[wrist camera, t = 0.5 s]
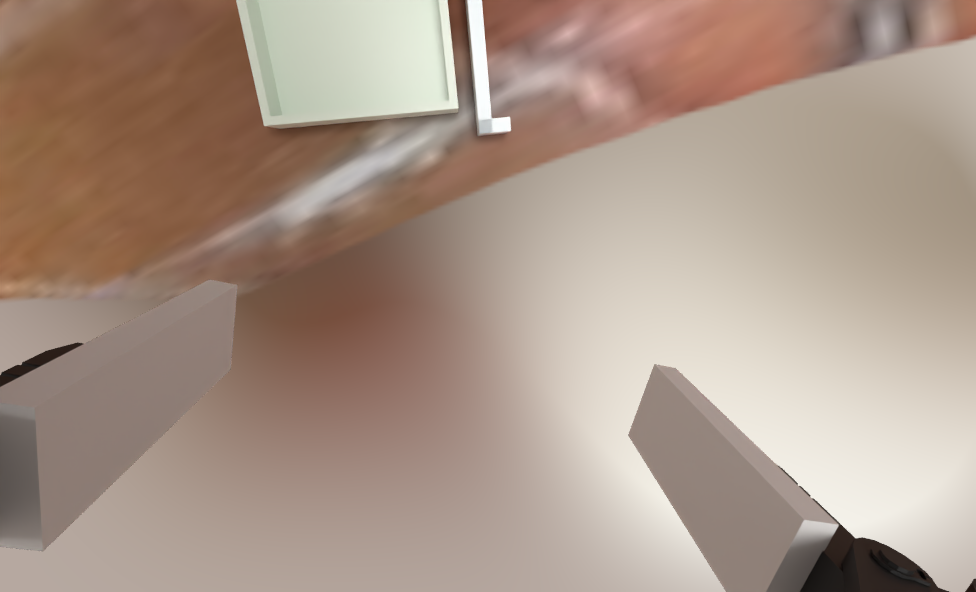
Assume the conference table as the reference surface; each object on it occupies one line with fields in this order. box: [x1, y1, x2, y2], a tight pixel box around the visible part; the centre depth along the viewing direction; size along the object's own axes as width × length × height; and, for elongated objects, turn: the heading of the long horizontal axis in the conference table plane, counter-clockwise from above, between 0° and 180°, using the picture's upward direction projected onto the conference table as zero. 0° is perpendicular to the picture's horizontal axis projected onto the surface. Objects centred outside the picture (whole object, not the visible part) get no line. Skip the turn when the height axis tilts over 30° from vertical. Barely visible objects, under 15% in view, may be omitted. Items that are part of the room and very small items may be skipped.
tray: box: [236, 0, 458, 129], centre depth 32 cm, size 14×14×3 cm
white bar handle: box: [465, 0, 511, 136], centre depth 33 cm, size 18×2×3 cm, turn 5°
